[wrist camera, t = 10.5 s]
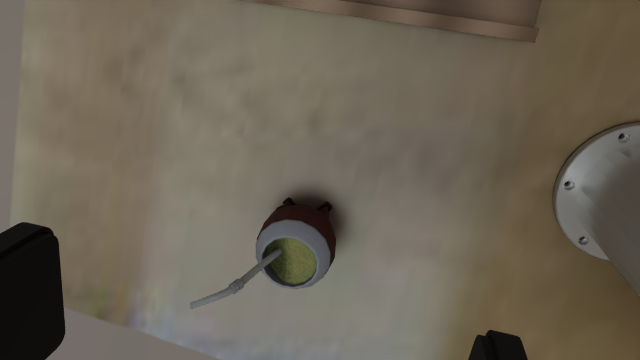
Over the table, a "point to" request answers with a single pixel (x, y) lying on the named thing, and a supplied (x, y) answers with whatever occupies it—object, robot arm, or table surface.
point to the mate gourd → (289, 249)
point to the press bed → (438, 14)
